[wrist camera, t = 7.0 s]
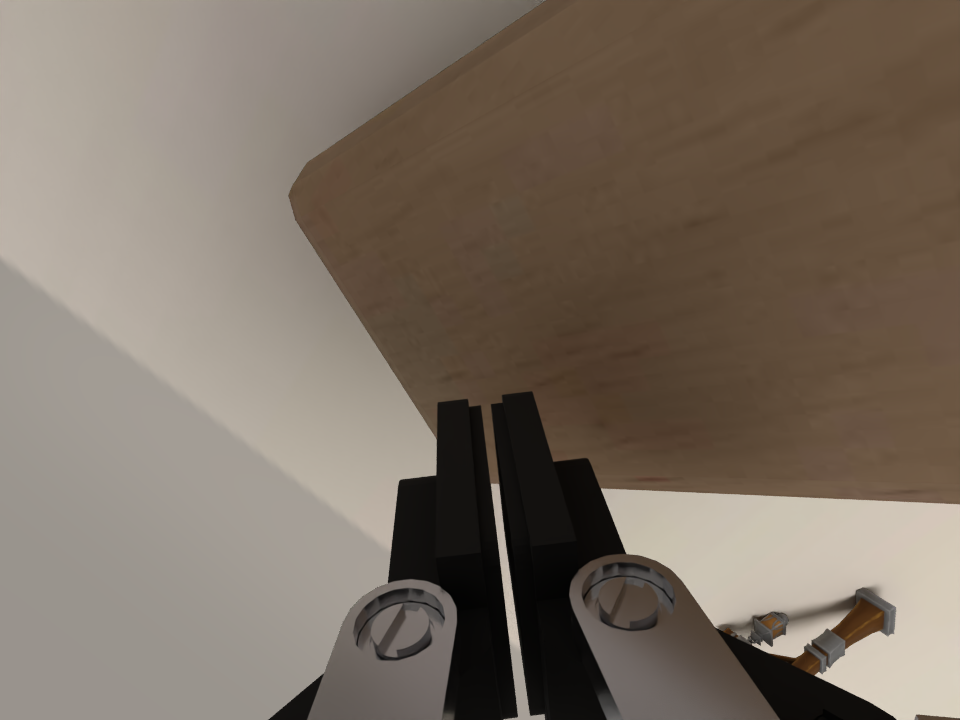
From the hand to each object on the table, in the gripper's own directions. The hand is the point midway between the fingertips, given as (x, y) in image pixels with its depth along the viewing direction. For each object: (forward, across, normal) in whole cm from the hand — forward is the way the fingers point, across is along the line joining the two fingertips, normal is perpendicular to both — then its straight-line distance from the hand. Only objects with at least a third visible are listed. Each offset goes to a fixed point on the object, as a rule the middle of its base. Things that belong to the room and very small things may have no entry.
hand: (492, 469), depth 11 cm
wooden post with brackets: (+14, -15, +21) cm, 29 cm away
